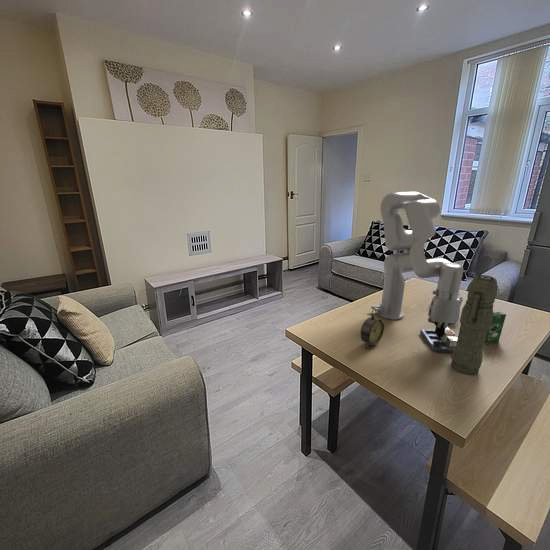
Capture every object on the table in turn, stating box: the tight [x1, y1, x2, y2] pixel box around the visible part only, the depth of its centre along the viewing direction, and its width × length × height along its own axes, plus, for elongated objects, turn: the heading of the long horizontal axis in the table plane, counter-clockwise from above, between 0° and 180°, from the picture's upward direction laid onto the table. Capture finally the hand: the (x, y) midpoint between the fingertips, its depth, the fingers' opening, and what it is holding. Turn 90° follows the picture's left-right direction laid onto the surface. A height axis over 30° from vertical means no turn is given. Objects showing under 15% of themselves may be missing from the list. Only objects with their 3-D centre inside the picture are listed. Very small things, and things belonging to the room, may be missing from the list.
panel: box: [419, 326, 458, 355], centre depth 120 cm, size 11×15×5 cm
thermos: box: [450, 274, 499, 377], centre depth 100 cm, size 9×12×35 cm
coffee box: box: [484, 311, 507, 345], centre depth 120 cm, size 8×3×13 cm, turn 106°
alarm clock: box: [360, 309, 385, 350], centre depth 119 cm, size 11×5×16 cm, turn 129°
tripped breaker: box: [441, 329, 456, 342], centre depth 120 cm, size 4×3×5 cm
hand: (439, 335), depth 120 cm, fingers closed
